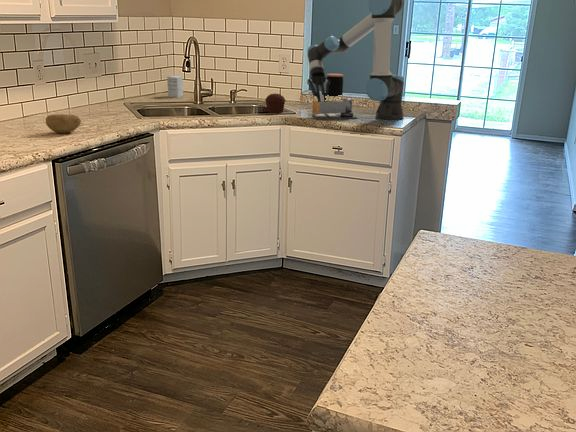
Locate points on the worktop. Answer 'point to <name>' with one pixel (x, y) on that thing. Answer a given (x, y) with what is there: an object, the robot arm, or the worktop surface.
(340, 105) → the swing arm
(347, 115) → the pivot plinth
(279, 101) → the muffin
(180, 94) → the supplement box
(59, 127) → the brown bowl
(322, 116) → the label tile
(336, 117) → the label tile
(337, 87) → the coffee jar
